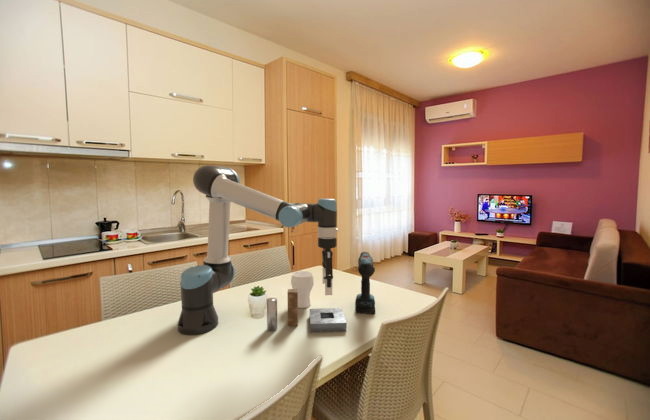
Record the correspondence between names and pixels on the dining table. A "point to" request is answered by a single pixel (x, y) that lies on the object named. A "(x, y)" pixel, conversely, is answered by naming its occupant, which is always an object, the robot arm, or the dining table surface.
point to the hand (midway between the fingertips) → (327, 288)
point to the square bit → (292, 307)
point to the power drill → (365, 285)
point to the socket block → (327, 320)
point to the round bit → (271, 314)
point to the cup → (303, 287)
